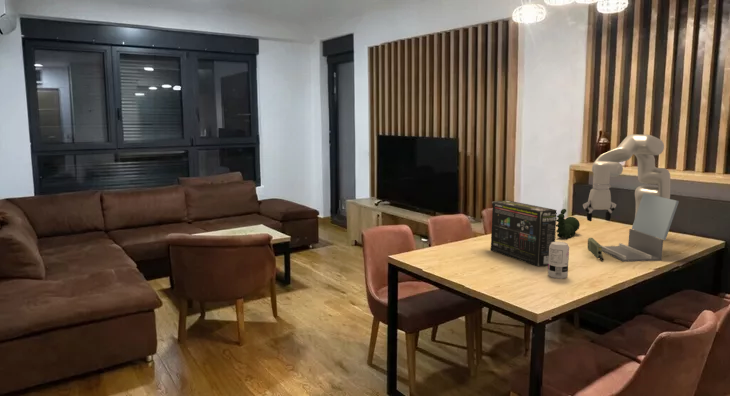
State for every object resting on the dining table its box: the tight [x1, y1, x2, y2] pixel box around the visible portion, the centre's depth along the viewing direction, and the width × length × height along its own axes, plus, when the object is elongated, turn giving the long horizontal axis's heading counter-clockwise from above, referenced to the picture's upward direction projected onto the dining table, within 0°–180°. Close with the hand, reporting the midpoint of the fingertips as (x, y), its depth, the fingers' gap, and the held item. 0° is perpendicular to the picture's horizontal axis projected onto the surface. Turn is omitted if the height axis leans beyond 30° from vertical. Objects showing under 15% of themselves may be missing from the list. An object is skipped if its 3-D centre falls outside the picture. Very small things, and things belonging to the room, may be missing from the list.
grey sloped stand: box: [600, 228, 664, 263], centre depth 262 cm, size 20×26×10 cm
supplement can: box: [547, 241, 570, 280], centre depth 225 cm, size 8×8×15 cm
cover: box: [631, 193, 680, 241], centre depth 261 cm, size 20×26×1 cm
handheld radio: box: [587, 237, 604, 262], centre depth 261 cm, size 7×3×25 cm
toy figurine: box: [555, 208, 581, 239], centre depth 302 cm, size 9×19×25 cm
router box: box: [490, 200, 558, 267], centre depth 257 cm, size 36×11×27 cm, turn 26°
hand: (598, 220), depth 259 cm, fingers open, 9 cm apart
